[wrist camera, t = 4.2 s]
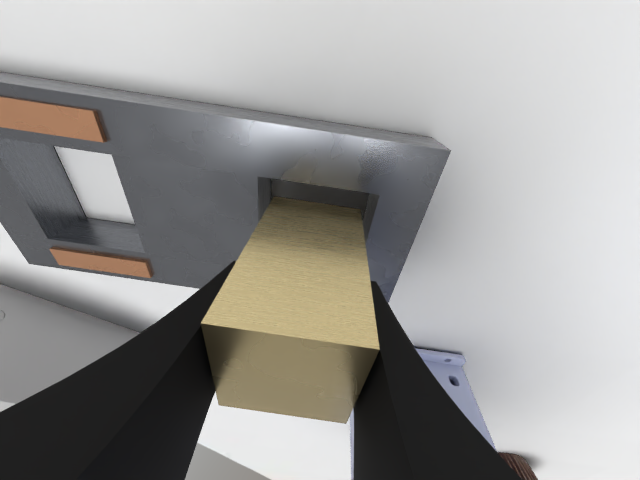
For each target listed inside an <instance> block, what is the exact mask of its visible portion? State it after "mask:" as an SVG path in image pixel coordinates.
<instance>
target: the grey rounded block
mask: <svg viewBox="0 0 640 480" xmlns="http://www.w3.org/2000/svg"><path fill="white" fill-rule="evenodd" d="M138 334H140V332H137V331H134V330H131V329H128V328H125V327H123V326H120V325H117V324H114V323H111V322H108V321H105V320H102V319H100V318H97V317H94V316H91V315H88V314H85V313H82V312H79V311H77V310H74V309H71V308H68V307H65V306H62V305H59V304H56V303H54V302H51V301H48V300H45V299H42V298H39V297H36V296H33V295H31V294H28V293H25V292H22V291H19V290H16V289H13V288H10V287H8V286H5V285H2V284H0V412H1V411H3V410H5V409H7V408H9V407H11V406H13V405H15V404H17V403H19V402H21V401H23V400H25V399H27V398H28V397H30V396H32V395H34V394H36V393H38V392H40V391H42V390H44V389H46V388H47V387H49V386H51V385H53V384H55V383H57V382H59V381H61V380H63V379H65V378H66V377H68V376H70V375H72V374H73V373H75V372H77V371H79V370H80V369H82V368H84V367H86V366H87V365H89V364H91V363H93V362H94V361H96V360H98V359H99V358H101V357H103V356H104V355H106V354H108V353H110V352H111V351H113V350H115V349H116V348H118V347H119V346H121V345H123V344H124V343H126V342H127V341H129V340H130V339H132V338H134V337H135V336H137V335H138Z"/></svg>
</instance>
